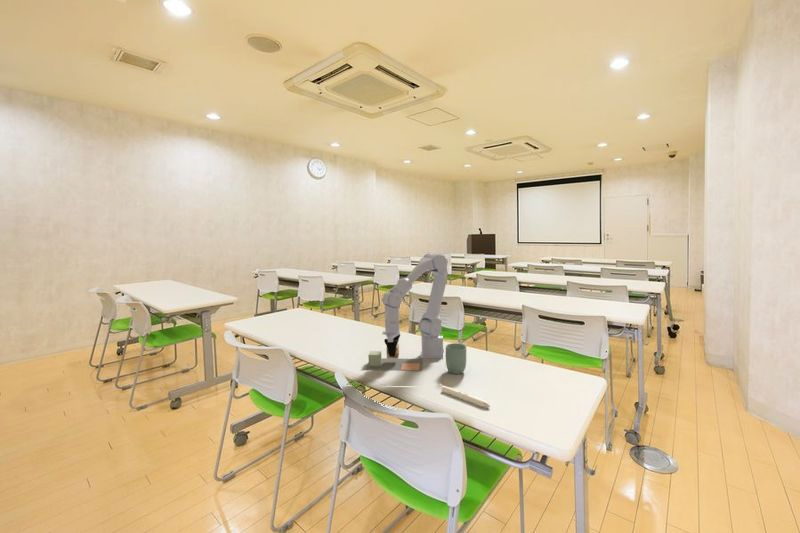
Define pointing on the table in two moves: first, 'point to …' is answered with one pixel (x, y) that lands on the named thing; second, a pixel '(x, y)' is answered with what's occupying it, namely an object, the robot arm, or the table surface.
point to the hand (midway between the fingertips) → (392, 354)
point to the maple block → (395, 353)
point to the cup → (456, 358)
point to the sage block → (374, 358)
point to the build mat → (398, 365)
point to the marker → (465, 397)
